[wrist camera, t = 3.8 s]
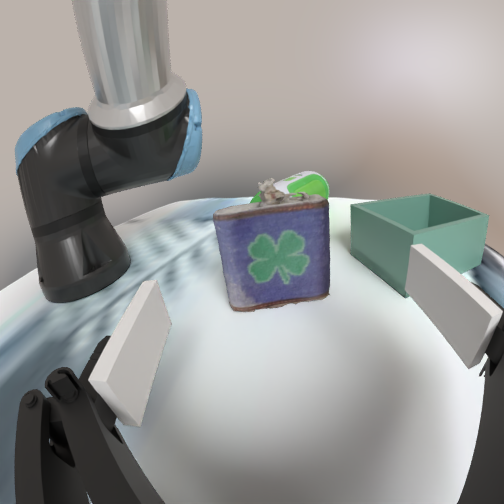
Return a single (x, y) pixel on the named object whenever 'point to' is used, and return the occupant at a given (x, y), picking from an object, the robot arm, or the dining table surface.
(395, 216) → the open box
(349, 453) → the dining table surface
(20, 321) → the dining table surface
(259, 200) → the speaker
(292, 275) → the flask
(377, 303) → the dining table surface
